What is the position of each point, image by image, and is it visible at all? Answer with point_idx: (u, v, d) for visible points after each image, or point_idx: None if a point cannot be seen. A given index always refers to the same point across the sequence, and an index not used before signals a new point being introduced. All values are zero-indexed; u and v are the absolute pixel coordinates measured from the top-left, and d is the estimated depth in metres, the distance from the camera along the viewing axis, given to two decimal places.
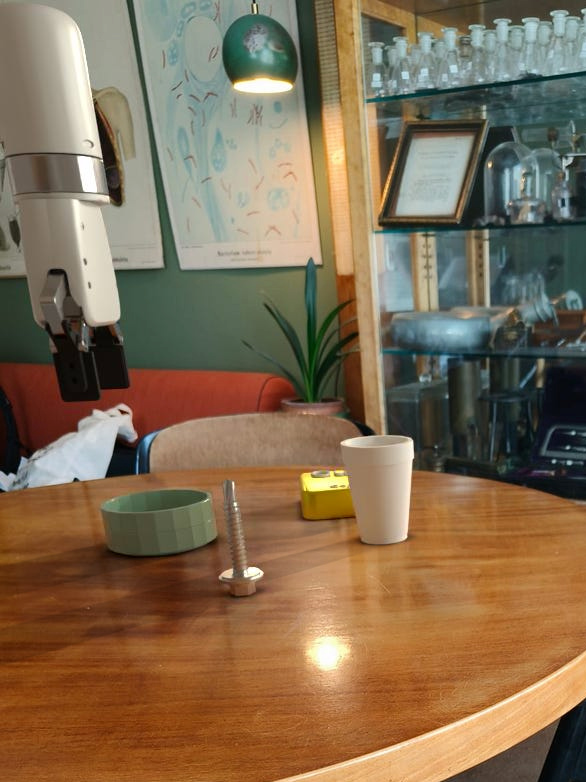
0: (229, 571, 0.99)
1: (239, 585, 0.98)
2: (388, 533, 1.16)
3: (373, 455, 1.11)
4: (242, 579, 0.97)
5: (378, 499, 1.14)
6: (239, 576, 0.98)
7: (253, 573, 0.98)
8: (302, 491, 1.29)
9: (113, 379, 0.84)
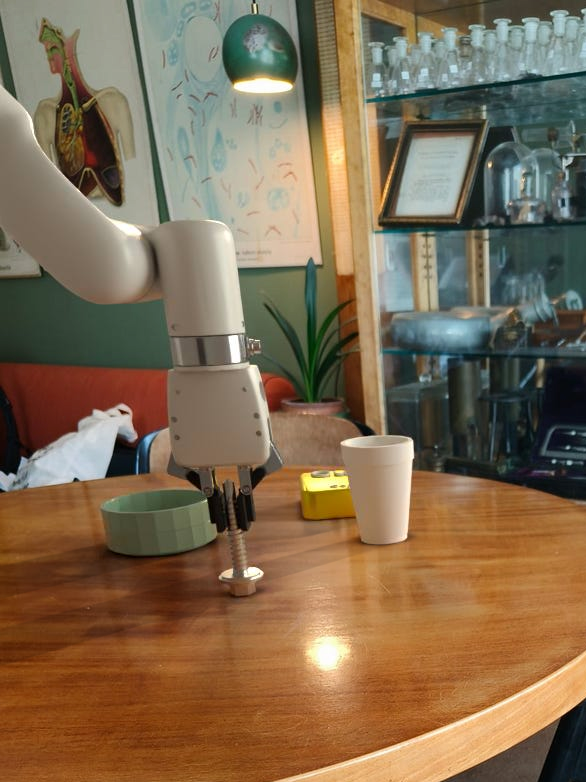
0: (229, 571, 0.99)
1: (239, 585, 0.98)
2: (388, 533, 1.16)
3: (373, 455, 1.11)
4: (242, 579, 0.97)
5: (378, 499, 1.14)
6: (239, 576, 0.98)
7: (253, 573, 0.98)
8: (302, 491, 1.29)
9: None
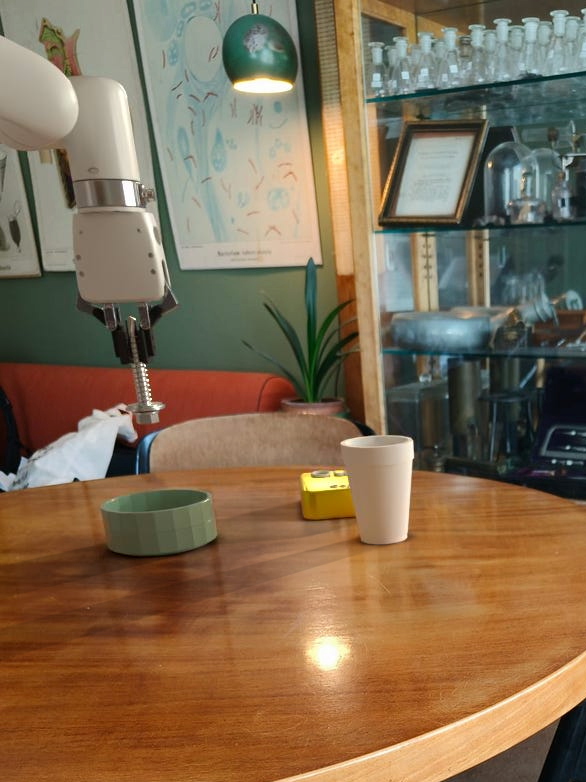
0: (135, 403, 1.13)
1: (142, 413, 1.12)
2: (388, 533, 1.16)
3: (373, 455, 1.11)
4: (144, 407, 1.11)
5: (378, 499, 1.14)
6: (142, 405, 1.12)
7: (155, 404, 1.12)
8: (302, 491, 1.29)
9: None
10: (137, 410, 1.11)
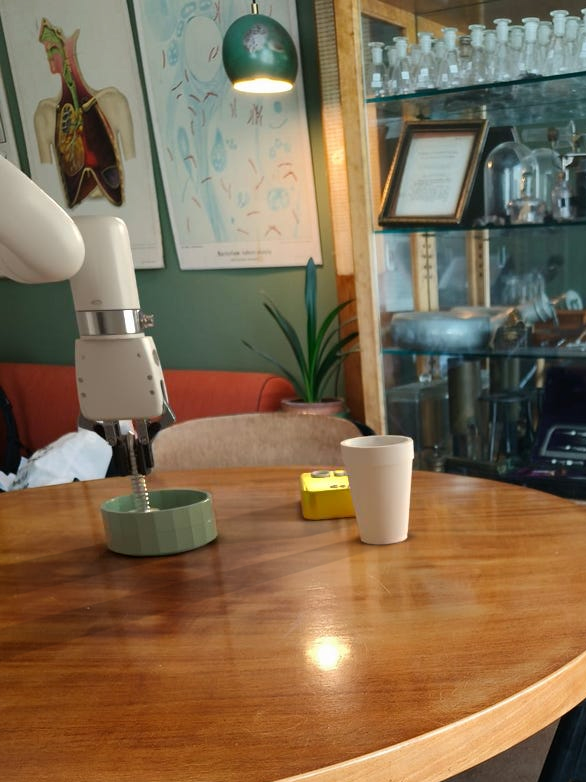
0: (133, 511, 1.18)
1: None
2: (388, 533, 1.16)
3: (373, 455, 1.11)
4: None
5: (378, 499, 1.14)
6: None
7: None
8: (302, 491, 1.29)
9: None
10: None
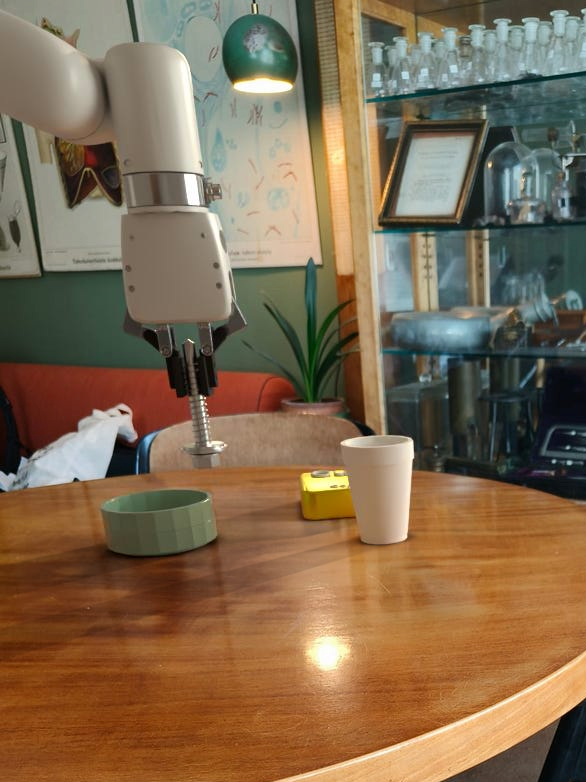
0: (191, 443, 0.94)
1: (201, 456, 0.93)
2: (388, 533, 1.16)
3: (373, 455, 1.11)
4: (204, 449, 0.92)
5: (378, 499, 1.14)
6: (201, 446, 0.92)
7: (216, 444, 0.93)
8: (302, 491, 1.29)
9: None
10: (196, 452, 0.92)
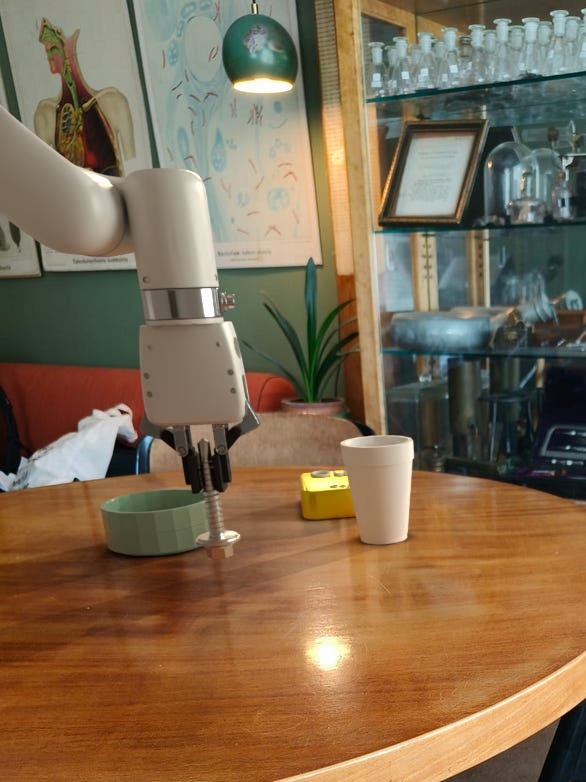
0: (206, 534, 0.98)
1: (216, 548, 0.96)
2: (388, 533, 1.16)
3: (373, 455, 1.11)
4: (218, 541, 0.95)
5: (378, 499, 1.14)
6: (216, 538, 0.96)
7: (230, 536, 0.97)
8: (302, 491, 1.29)
9: None
10: (210, 545, 0.95)
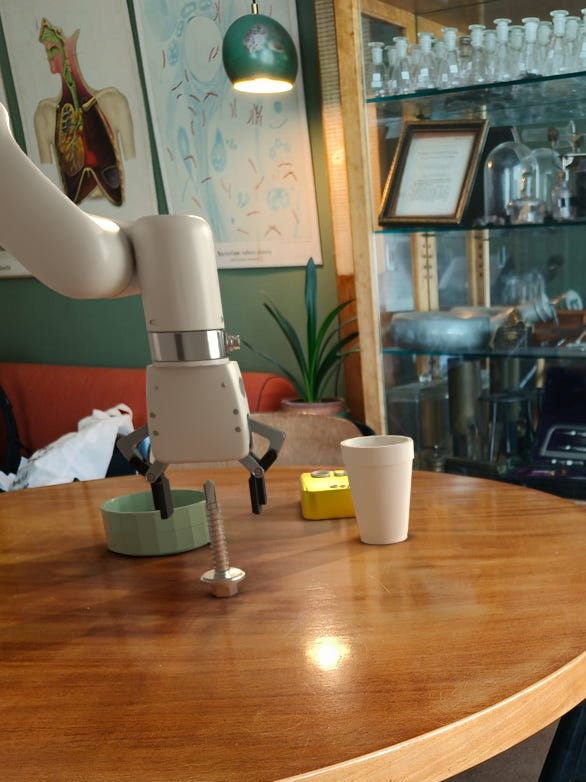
0: (211, 572, 0.99)
1: (220, 586, 0.98)
2: (388, 533, 1.16)
3: (373, 455, 1.11)
4: (223, 580, 0.97)
5: (378, 499, 1.14)
6: (220, 577, 0.98)
7: (235, 574, 0.98)
8: (302, 491, 1.29)
9: None
10: (215, 584, 0.97)
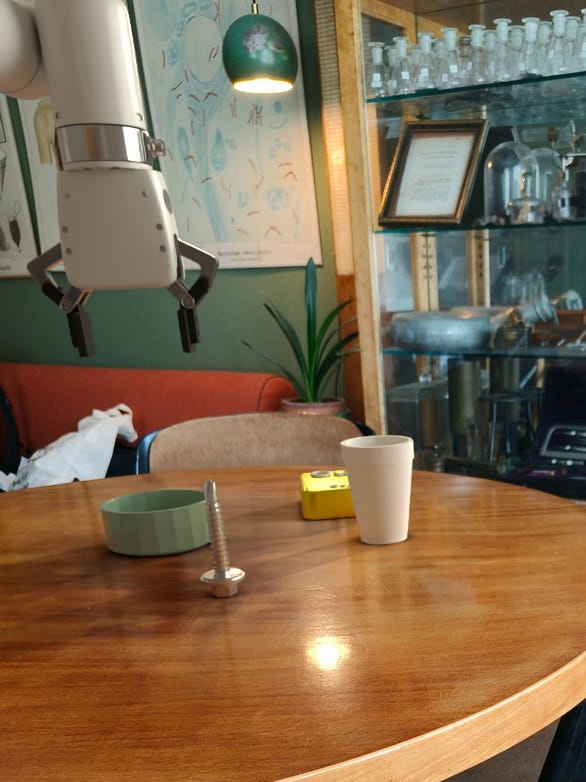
0: (211, 572, 0.99)
1: (220, 586, 0.98)
2: (388, 533, 1.16)
3: (373, 455, 1.11)
4: (223, 580, 0.97)
5: (378, 499, 1.14)
6: (221, 577, 0.98)
7: (235, 574, 0.98)
8: (302, 491, 1.29)
9: None
10: (215, 584, 0.97)
